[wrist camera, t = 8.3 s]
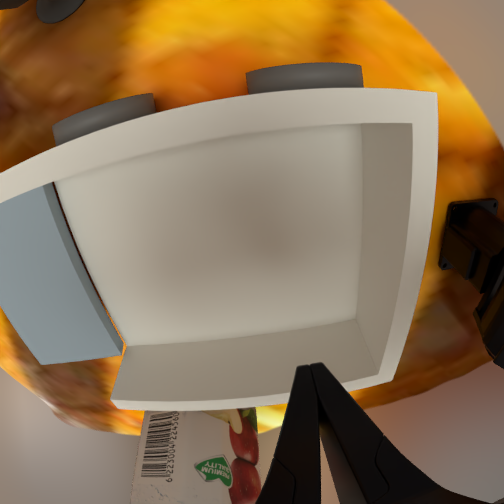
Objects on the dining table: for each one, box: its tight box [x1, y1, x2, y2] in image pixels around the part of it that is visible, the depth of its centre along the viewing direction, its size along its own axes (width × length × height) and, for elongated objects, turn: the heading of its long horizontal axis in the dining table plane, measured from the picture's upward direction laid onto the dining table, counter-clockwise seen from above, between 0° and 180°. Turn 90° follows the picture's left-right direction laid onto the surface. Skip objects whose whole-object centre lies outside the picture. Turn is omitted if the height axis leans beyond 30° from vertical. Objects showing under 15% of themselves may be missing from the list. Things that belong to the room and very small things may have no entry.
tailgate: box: [0, 182, 124, 365], centre depth 16 cm, size 2×13×8 cm
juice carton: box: [130, 407, 261, 504], centre depth 18 cm, size 9×10×27 cm
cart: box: [0, 63, 438, 411], centre depth 16 cm, size 18×18×10 cm
